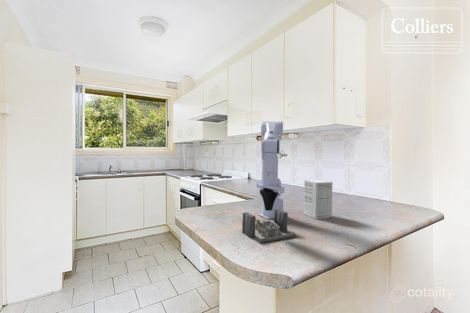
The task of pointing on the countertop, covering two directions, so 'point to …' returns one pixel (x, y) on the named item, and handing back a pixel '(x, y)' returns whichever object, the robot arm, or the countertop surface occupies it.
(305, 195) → the supplement box
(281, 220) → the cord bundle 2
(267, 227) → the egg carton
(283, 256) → the countertop surface
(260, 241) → the dark grey rod
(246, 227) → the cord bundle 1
